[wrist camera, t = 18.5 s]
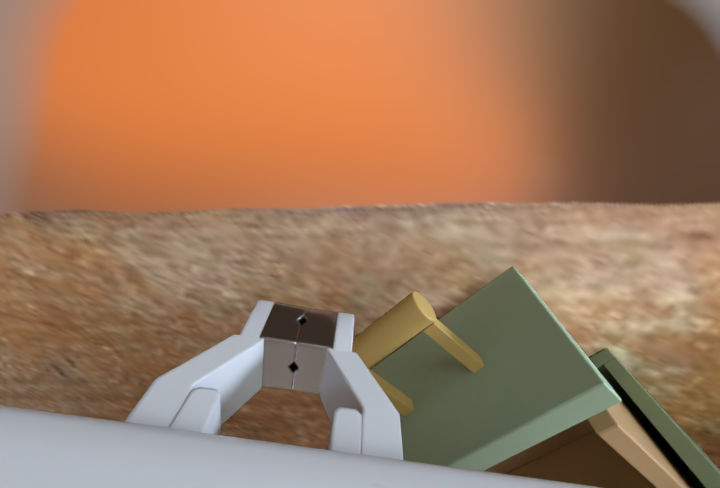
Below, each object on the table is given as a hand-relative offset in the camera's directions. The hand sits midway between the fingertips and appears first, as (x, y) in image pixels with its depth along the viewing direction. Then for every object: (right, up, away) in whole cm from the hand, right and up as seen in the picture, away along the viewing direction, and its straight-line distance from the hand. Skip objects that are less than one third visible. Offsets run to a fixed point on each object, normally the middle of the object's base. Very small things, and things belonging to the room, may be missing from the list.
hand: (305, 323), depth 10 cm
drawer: (+9, -5, +10) cm, 14 cm away
